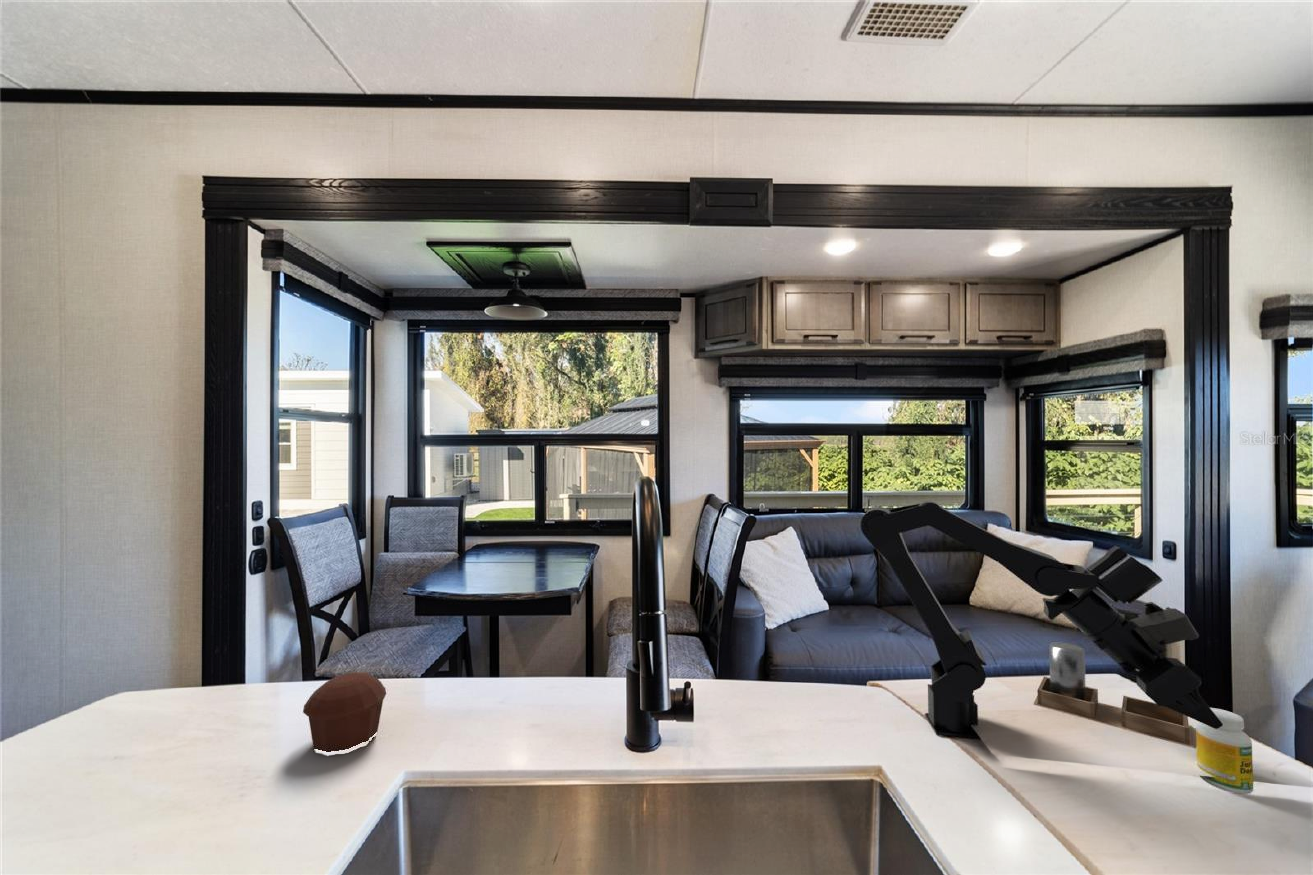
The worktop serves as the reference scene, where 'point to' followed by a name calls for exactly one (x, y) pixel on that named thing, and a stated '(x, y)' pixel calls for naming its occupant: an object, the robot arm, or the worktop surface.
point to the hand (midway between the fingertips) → (1202, 711)
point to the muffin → (345, 711)
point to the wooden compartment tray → (1122, 714)
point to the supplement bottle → (1226, 753)
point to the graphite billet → (1067, 670)
